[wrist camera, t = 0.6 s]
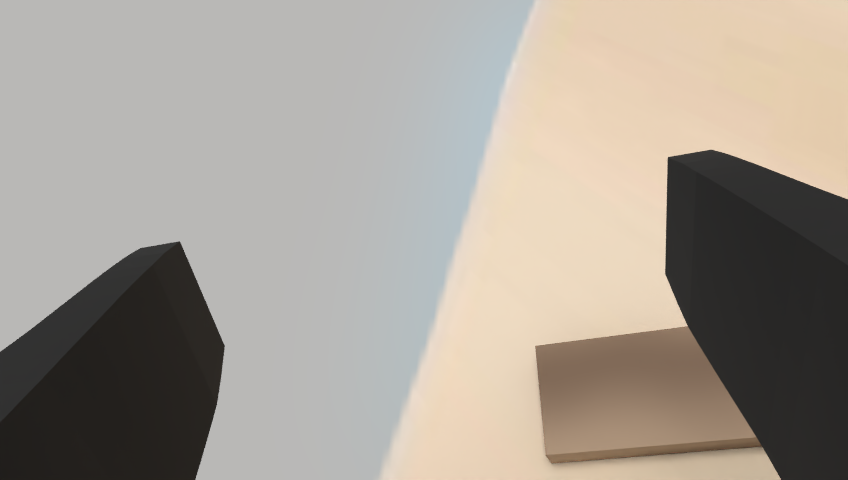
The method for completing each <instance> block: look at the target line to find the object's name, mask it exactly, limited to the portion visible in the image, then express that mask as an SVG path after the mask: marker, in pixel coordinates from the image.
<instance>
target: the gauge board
mask: <svg viewBox="0 0 848 480" xmlns="http://www.w3.org/2000/svg"><path fill="white" fill-rule="evenodd" d="M535 347H536V358H537V368H538V379H539V389H540V400H541V410H542V421H543V431H544V442H545V452H546V456H547V458H548V459H549V460H550V462H551V463H561V462H573V461H585V460H598V459H610V458H622V457H635V456H647V455H659V454H671V453H684V452H696V451H708V450H721V449H733V448H745V447H757V446H762V445H761V444H760V442H759V441H758V439H757V437H756V436H755V434H754V433H753V431H752V429H751V428H750V426H749V425H748V423H747V421H746V420H745V418H744V417H743V415H742V413H741V412H740V410H739V409H738V407H737V405H736V404H735V402H734V401H733V399H732V398H731V396H730V394H729V393H728V391H727V390H726V388H725V386H724V385H723V383H722V382H721V380H720V378H719V377H718V375H717V374H716V372H715V370H714V369H713V367H712V365H711V364H710V362H709V361H708V359H707V357H706V356H705V354H704V352H703V351H702V349H701V348H700V346H699V344H698V343H697V341H696V339H695V338H694V336H693V334H692V333H691V331H690V329H689V327H680V328H672V329H664V330H656V331H649V332H641V333H633V334H625V335H617V336H610V337H602V338H594V339H586V340H579V341H571V342H563V343H555V344H547V345H540V346H535Z"/></svg>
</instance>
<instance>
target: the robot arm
mask: <svg viewBox="0 0 848 480" xmlns="http://www.w3.org/2000/svg"><path fill="white" fill-rule="evenodd" d="M665 274H666V277H667V279H668V281H669V284H670V286H671V289H672V291H673V293H674V296H675V298H676V300H677V303H678V305H679V307H680V310H681V312H682V314H683V316H684V318H685V321H686V323H687V325H688V327H689V329H690V331H691V333H692V334H693V336H694V338H695V339H696V341H697V343H698V344H699V346H700V348H701V349H702V351H703V352H704V354H705V356H706V357H707V359H708V361H709V362H710V364H711V365H712V367H713V369H714V370H715V372H716V374H717V375H718V377H719V378H720V380H721V382H722V383H723V385H724V386H725V388H726V390H727V391H728V393H729V394H730V396H731V398H732V399H733V401H734V402H735V404H736V405H737V407H738V409H739V410H740V412H741V413H742V415H743V417H744V418H745V420H746V421H747V423H748V425H749V426H750V428H751V429H752V431H753V433H754V434H755V436H756V437H757V439H758V441H759V442H760V444H761V445H762V447H763V449H764V450H765V452H766V453H767V455H768V457H769V459H770V460H771V462H772V464H773V466H774V468H775V469H776V471H777V473H778V475H779V476H780V478H781V480H848V199H845V198H842V197H840V196H837V195H834V194H832V193H829V192H826V191H824V190H821V189H818V188H816V187H813V186H810V185H808V184H805V183H803V182H800V181H797V180H795V179H792V178H790V177H787V176H785V175H782V174H779V173H777V172H774V171H772V170H769V169H767V168H764V167H761V166H759V165H756V164H754V163H751V162H748V161H745V160H743V159H740V158H737V157H734V156H731V155H728V154H725V153H722V152H718V151H714V150H707V151H701V152H695V153H690V154H684V155H678V156H672V157H668V174H667V221H666V268H665ZM224 347H225V346H224V344H223V341H222V339H221V336H220V334H219V332H218V329H217V327H216V325H215V322H214V320H213V318H212V316H211V313H210V311H209V309H208V306H207V304H206V301H205V299H204V297H203V294H202V292H201V290H200V287H199V285H198V283H197V280H196V278H195V276H194V273H193V271H192V269H191V266H190V264H189V262H188V259H187V257H186V255H185V252H184V250H183V248H182V245H181V243H180V242H174V243H168V244H162V245H157V246H151V247H145V248H140V249H138V250H137V251H135V252H133V253H132V254H130V255H128V256H127V257H125V258H124V259H122V260H121V261H119V262H118V263H116V264H115V265H114V266H112V267H111V268H110V269H108V270H107V271H106V272H104V273H103V274H102V275H100V276H99V277H98V278H97V279H95V280H94V281H92V282H91V283H90V284H89V285H87V286H86V287H85V288H83V289H82V290H81V291H80V292H78V293H77V294H76V295H74V296H73V297H72V298H71V299H69V300H68V301H67V302H65V303H64V304H63V305H62V306H60V307H59V308H58V309H57V310H55V311H54V312H53V313H51V314H50V315H49V316H47V317H46V318H45V319H44V320H42V321H41V322H40V323H39V324H37V325H36V326H35V327H33V328H32V329H31V330H29V331H28V332H27V333H25V334H24V335H23V336H21V337H20V338H19V339H17V340H16V341H15V342H13V343H12V344H11V345H9V346H8V347H6V348H5V349H4V350H2V351H1V352H0V480H195V478H196V475H197V472H198V469H199V465H200V462H201V458H202V455H203V452H204V448H205V445H206V441H207V437H208V434H209V431H210V427H211V424H212V420H213V416H214V413H215V409H216V405H217V400H218V393H219V386H220V380H221V373H222V363H223V356H224Z"/></svg>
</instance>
